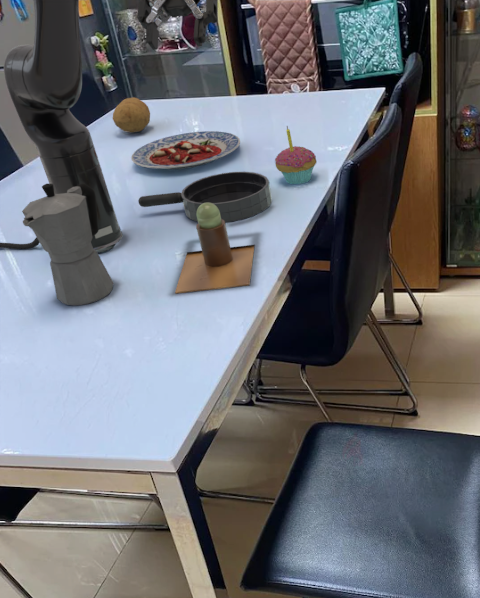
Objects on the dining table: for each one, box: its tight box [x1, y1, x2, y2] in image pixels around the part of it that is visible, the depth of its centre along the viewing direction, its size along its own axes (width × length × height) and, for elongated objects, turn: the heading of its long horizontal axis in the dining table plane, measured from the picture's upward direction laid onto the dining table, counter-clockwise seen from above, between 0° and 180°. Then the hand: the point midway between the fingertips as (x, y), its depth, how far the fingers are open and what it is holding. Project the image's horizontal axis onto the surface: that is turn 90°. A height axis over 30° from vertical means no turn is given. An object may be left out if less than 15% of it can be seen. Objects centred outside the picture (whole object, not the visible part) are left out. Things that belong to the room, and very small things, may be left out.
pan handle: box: [138, 191, 183, 208], centre depth 138 cm, size 9×2×2 cm, turn 93°
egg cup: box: [195, 202, 233, 267], centre depth 118 cm, size 5×5×10 cm
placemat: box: [174, 244, 256, 294], centre depth 121 cm, size 12×20×1 cm, turn 3°
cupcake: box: [274, 125, 317, 185], centre depth 144 cm, size 9×8×12 cm
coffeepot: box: [21, 183, 115, 306], centre depth 112 cm, size 15×9×18 cm, turn 159°
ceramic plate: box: [130, 130, 241, 170], centre depth 168 cm, size 26×26×3 cm
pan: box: [181, 171, 273, 223], centre depth 138 cm, size 17×17×4 cm
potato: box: [112, 97, 151, 134], centre depth 189 cm, size 10×14×8 cm
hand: (175, 45), depth 125 cm, fingers open, 8 cm apart
